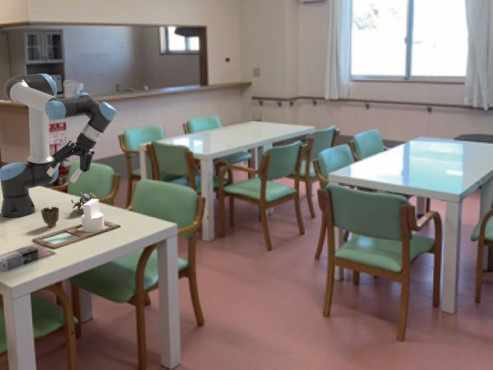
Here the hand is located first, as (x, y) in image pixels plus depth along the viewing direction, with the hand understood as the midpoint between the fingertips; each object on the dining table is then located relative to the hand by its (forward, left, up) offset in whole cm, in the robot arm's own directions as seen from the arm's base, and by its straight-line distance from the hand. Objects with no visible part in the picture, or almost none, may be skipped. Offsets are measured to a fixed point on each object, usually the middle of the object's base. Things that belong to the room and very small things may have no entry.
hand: (60, 178), depth 238 cm
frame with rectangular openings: (+7, +1, -23) cm, 24 cm away
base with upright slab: (+7, +9, -23) cm, 26 cm away
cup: (-11, 0, -23) cm, 26 cm away
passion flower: (-18, +22, -24) cm, 37 cm away
